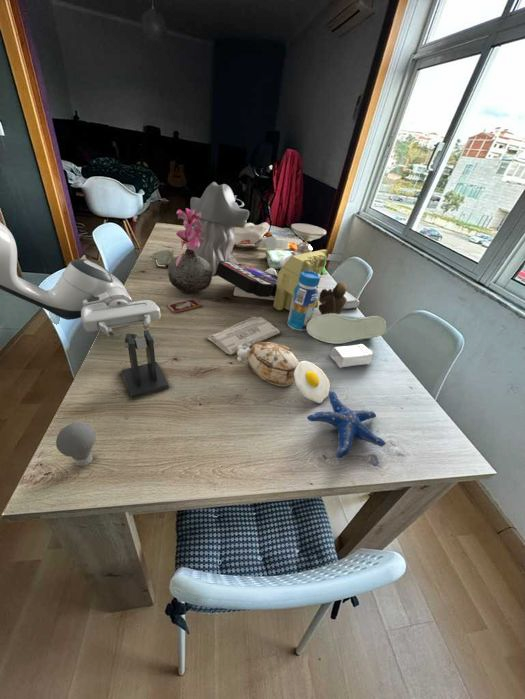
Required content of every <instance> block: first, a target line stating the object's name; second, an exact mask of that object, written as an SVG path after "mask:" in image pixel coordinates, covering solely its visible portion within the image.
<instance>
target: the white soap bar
mask: <svg viewBox="0 0 525 699" xmlns="http://www.w3.org/2000/svg"><path fill="white" fill-rule="evenodd" d="M330 358H331V359H332V360H333V361H334V363H336V366H338V367H339V368H346V367H347V368H348V367H355V366H361V365H370V364H371V363H372V360H373V358H374V352H373V351H372V349H370V348H368V347H367V346H365V345H364V344H363V343H360V344H353V345H352V344H350V345H342V346H334V347H332V349H331V352H330Z"/></svg>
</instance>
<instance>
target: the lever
mask: <svg viewBox="0 0 525 699" xmlns="http://www.w3.org/2000/svg"><path fill="white" fill-rule="evenodd" d="M130 334H131V336H132V338H133V340H134V342H135V347H136V350H142V349H146V348H147V344H146V339H145V337H144V336H138V335H137V334H135V333H130ZM124 343H125V344H126V343H127V340H126V337H125V339H124Z"/></svg>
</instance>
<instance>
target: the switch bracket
mask: <svg viewBox="0 0 525 699" xmlns="http://www.w3.org/2000/svg"><path fill="white" fill-rule="evenodd" d="M131 334H132V333H130V332H129V333H125V338H126V340H127V343H125V347H126V349H127V351H128V352H127V353H128V358H129V363H130V367H128V368H124V369H121V370H120V371H121V375H122V378H123V380H124V383H125V385H126V388H127V391H128V393H129V396H130V399H131V400H133V399H137V398H140V397H143V396H147V395H150V394H153V393H156V392H160V391H164V390H167V389H169V388H170V384H169V383H168V380H167V379H166V377H165V375H164V373H163V371H162V369H161V367H160V365H159V364H158V362H157V361H156V352H155V339H154V337H153V336H152V335H151V333H150V331H149V330H148V329H144V330H143V337H145V339H146V344H147V348H145V355H146V363H145V364H140V365H139V362H138V354H137V349H136V347H135V342H134V340H133V338H132V336H131Z"/></svg>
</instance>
